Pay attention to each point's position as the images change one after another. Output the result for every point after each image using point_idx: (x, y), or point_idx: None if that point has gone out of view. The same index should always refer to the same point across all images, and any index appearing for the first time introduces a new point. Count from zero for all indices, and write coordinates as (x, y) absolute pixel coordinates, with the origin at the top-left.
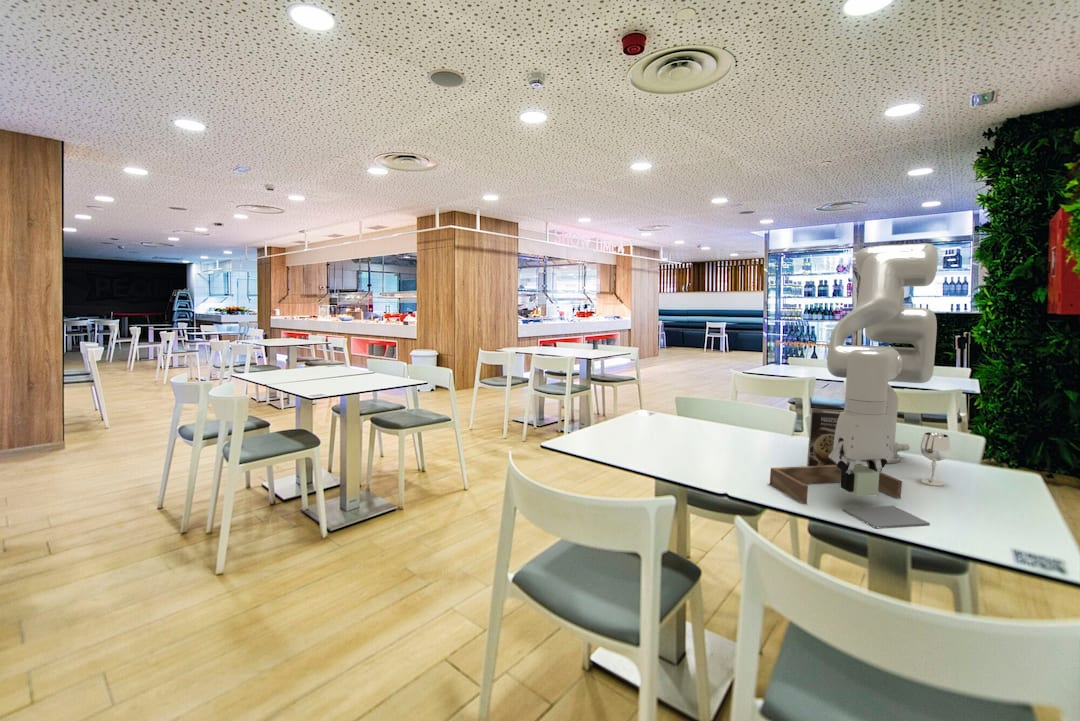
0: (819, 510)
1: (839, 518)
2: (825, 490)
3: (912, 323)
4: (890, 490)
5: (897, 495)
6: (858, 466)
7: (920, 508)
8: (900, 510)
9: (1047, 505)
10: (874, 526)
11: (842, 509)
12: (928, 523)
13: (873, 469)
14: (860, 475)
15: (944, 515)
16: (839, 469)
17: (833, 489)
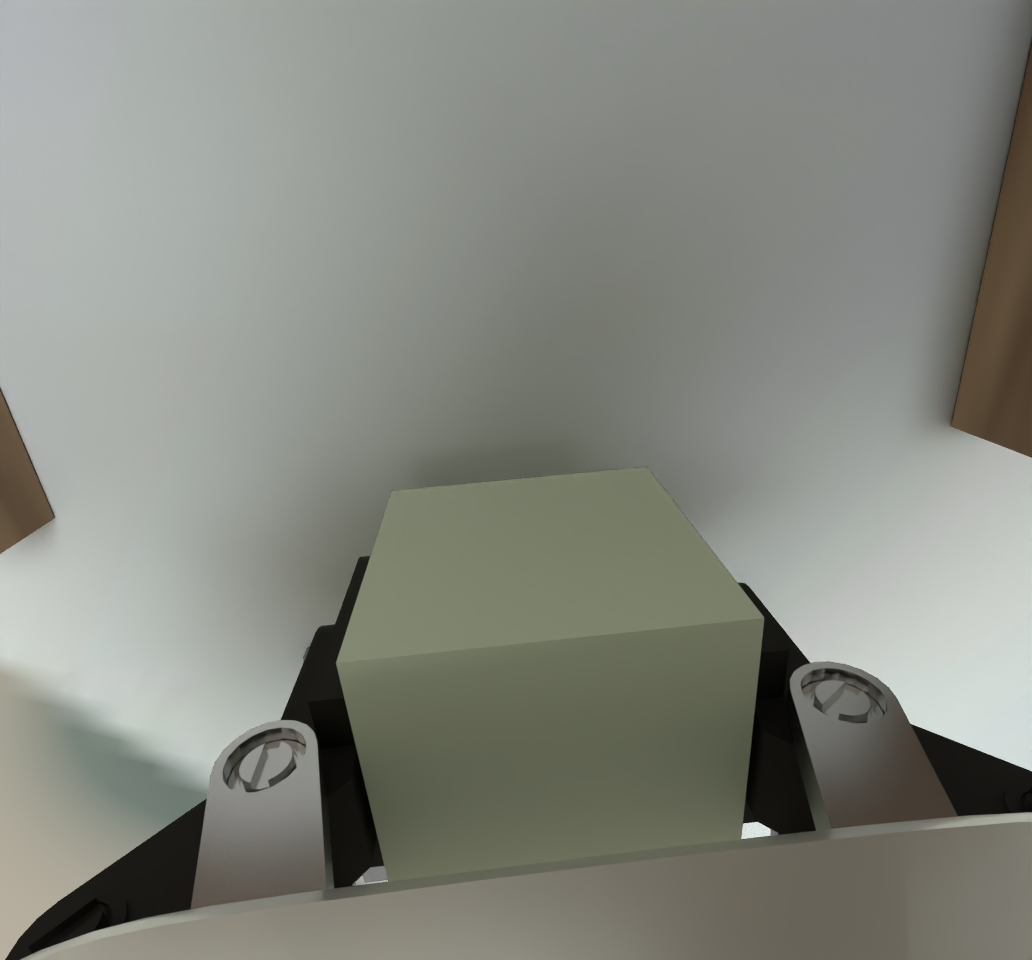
0: (119, 646)
1: (215, 761)
2: (411, 164)
3: None
4: (1006, 361)
5: (978, 432)
6: (643, 677)
7: (924, 614)
8: None
9: None
10: (364, 875)
11: (306, 653)
12: None
13: (757, 808)
14: None
15: (956, 712)
16: (244, 741)
17: (525, 134)
